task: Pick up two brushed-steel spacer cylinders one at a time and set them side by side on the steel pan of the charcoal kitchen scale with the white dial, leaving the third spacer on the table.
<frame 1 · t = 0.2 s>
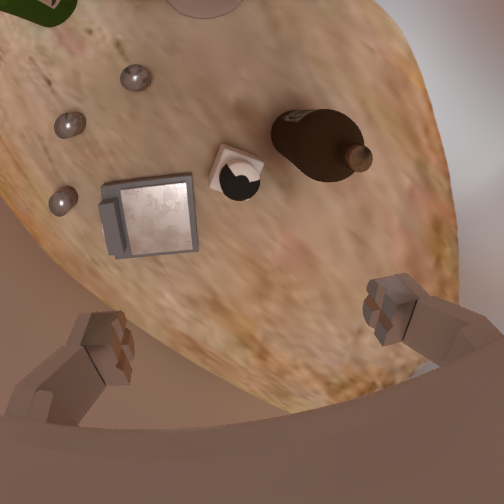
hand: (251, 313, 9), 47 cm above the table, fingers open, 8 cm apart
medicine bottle: (232, 166, 54), on the table
wine bottle: (58, 8, 31), on the table
scale: (151, 215, 55), on the table
spacer a: (75, 123, 44), on the table
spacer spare: (139, 79, 43), on the table
spacer b: (68, 196, 50), on the table
olive oil: (295, 133, 53), on the table
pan: (157, 219, 53), point 3 cm above the table, slide at -0.5 cm
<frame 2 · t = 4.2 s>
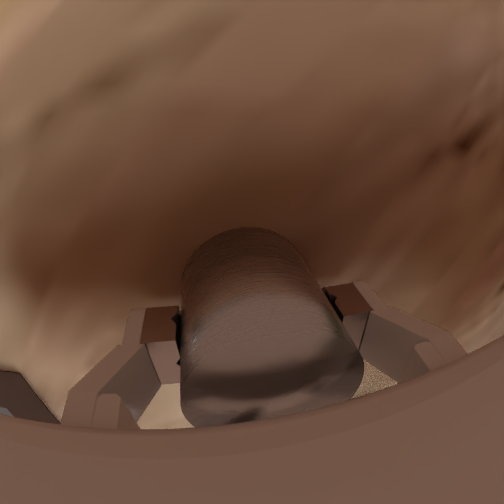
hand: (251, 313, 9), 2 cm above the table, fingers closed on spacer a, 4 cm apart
scale: (11, 433, 14), on the table
spacer a: (244, 285, 11), on the table, touching gripper
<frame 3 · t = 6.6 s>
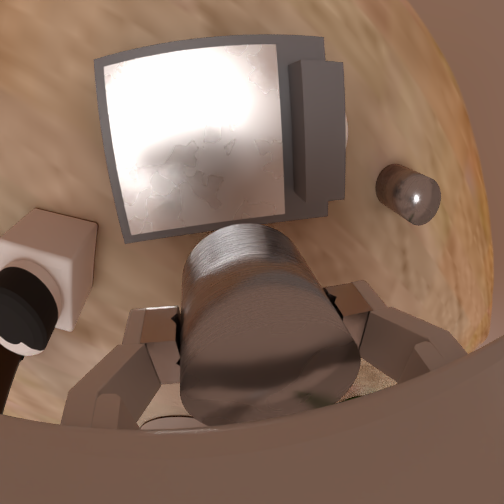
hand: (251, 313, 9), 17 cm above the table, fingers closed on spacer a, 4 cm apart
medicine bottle: (63, 247, 25), on the table
scale: (215, 131, 22), on the table
spacer a: (243, 280, 11), point 15 cm above the table, touching gripper
spacer b: (393, 185, 27), on the table
olive oil: (6, 305, 26), on the table
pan: (196, 137, 20), point 3 cm above the table, slide at -0.5 cm
when the fingers open (6 cm above the table, at t = 9.1 s): spacer a drops 1 cm, resting on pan.
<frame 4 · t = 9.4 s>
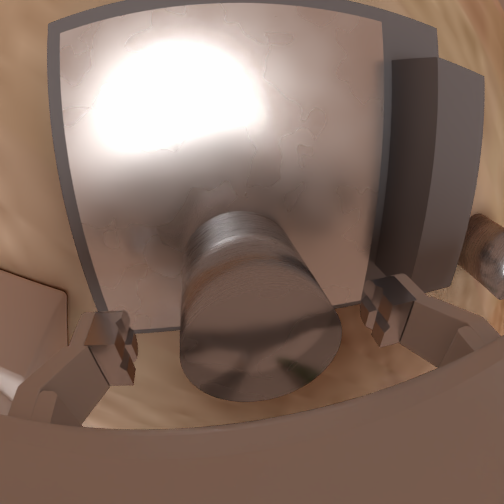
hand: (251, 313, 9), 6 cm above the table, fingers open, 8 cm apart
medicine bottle: (25, 315, 15), on the table
scale: (257, 158, 14), on the table
spacer a: (238, 263, 12), point 3 cm above the table, touching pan
spacer b: (471, 240, 19), on the table
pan: (232, 174, 11), point 3 cm above the table, slide at -0.6 cm, touching scale, spacer a
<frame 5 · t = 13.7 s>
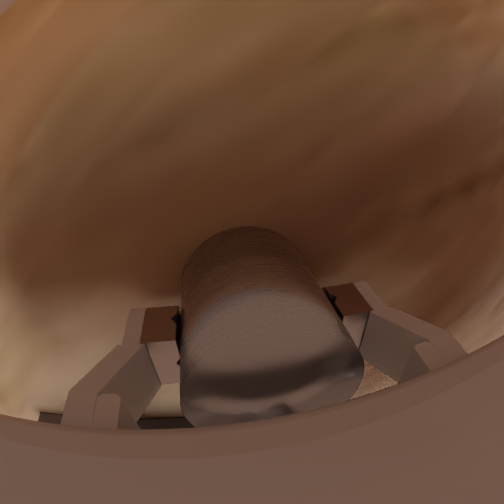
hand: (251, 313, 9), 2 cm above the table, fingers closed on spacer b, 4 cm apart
scale: (178, 468, 18), on the table
spacer b: (244, 284, 11), on the table, touching gripper
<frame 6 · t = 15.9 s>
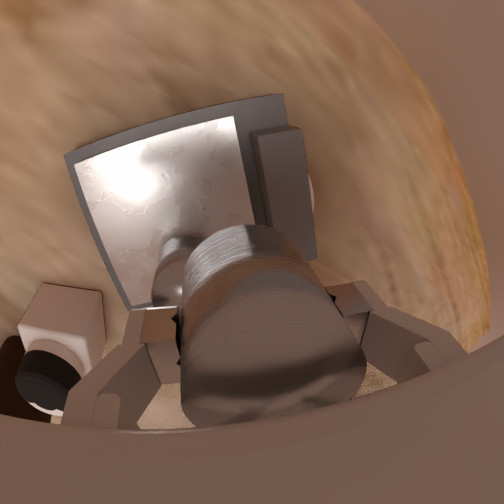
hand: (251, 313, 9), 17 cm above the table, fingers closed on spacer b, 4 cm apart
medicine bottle: (75, 311, 28), on the table
scale: (191, 202, 25), on the table
spacer a: (185, 261, 24), point 3 cm above the table, touching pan
spacer b: (245, 282, 11), point 16 cm above the table, touching gripper
olive oil: (31, 360, 30), on the table
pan: (172, 219, 22), point 3 cm above the table, slide at -0.5 cm, touching spacer a
when the fingers open (6 cm above the table, at t = 18.5 s): spacer b drops 2 cm, resting on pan.
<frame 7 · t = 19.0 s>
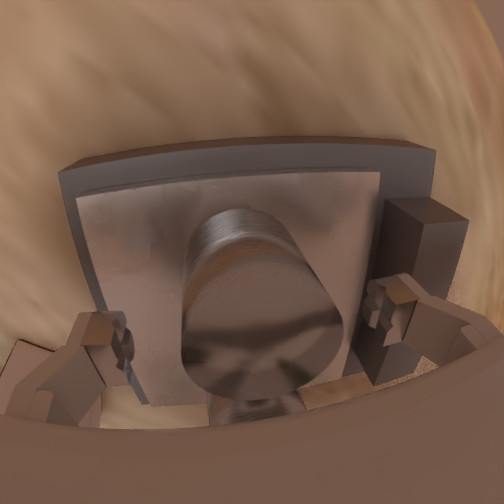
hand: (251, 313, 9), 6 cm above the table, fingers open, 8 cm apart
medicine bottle: (61, 377, 19), on the table
scale: (260, 276, 17), on the table
spacer a: (246, 368, 15), point 3 cm above the table, touching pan
spacer b: (240, 261, 12), point 3 cm above the table, touching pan
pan: (241, 313, 14), point 3 cm above the table, slide at -0.6 cm, touching scale, spacer a, spacer b
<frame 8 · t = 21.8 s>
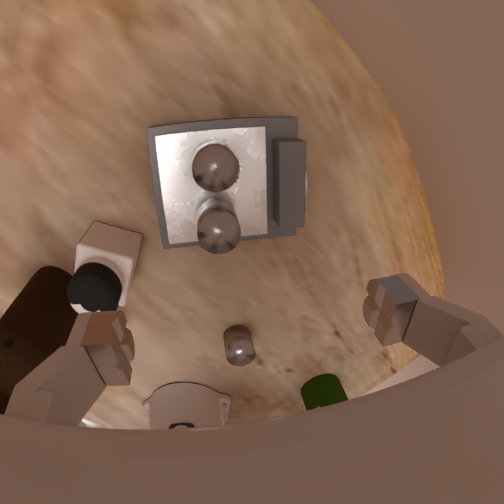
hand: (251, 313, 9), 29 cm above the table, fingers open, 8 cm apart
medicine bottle: (114, 249, 38), on the table
wine bottle: (319, 385, 61), on the table
scale: (224, 178, 36), on the table
spacer a: (216, 216, 35), point 3 cm above the table, touching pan
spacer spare: (237, 336, 48), on the table, tilted 7°
spacer b: (212, 160, 32), point 3 cm above the table, touching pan
olive oil: (57, 291, 39), on the table
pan: (214, 185, 34), point 3 cm above the table, slide at -0.6 cm, touching scale, spacer a, spacer b
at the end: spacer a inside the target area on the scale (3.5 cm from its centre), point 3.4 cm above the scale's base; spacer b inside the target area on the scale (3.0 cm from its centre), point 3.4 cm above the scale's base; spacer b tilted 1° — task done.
